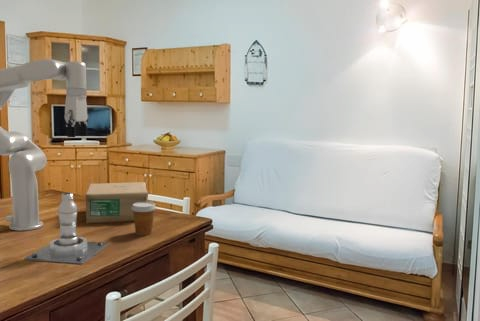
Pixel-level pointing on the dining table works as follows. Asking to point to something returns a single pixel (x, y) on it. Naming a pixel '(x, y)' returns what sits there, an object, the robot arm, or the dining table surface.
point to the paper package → (113, 201)
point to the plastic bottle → (67, 221)
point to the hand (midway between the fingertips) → (77, 136)
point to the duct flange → (67, 252)
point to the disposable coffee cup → (143, 217)
